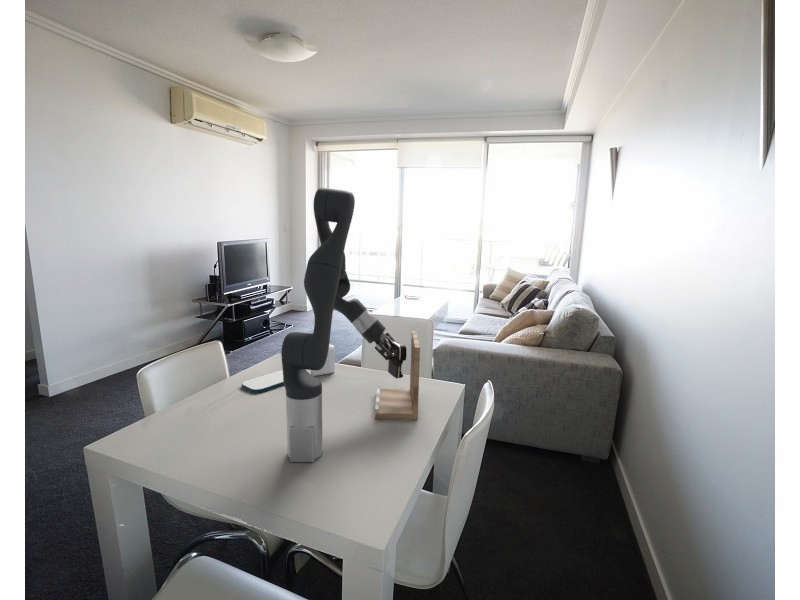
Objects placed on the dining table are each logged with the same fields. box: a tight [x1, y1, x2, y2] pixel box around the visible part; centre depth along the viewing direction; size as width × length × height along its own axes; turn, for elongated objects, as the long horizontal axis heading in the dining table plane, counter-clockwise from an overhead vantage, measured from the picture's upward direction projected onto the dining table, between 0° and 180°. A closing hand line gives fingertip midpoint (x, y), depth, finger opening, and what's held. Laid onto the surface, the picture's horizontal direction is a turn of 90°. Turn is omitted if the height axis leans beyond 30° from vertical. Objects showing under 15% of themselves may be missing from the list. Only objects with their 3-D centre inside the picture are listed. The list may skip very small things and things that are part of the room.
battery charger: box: [387, 341, 407, 379], centre depth 139 cm, size 7×4×11 cm, turn 27°
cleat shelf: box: [374, 330, 421, 421], centre depth 139 cm, size 20×14×24 cm
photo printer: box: [310, 343, 336, 377], centre depth 169 cm, size 10×4×12 cm, turn 123°
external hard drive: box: [241, 369, 285, 394], centre depth 159 cm, size 24×12×2 cm, turn 142°
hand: (402, 362), depth 139 cm, fingers closed on battery charger, 7 cm apart
